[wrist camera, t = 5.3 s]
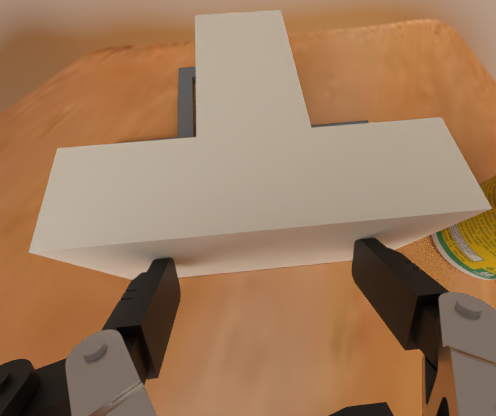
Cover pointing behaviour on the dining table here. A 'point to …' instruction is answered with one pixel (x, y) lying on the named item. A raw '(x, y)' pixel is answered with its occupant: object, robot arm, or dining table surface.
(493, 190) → the supplement bottle
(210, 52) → the t block
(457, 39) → the dining table surface
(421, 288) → the robot arm
